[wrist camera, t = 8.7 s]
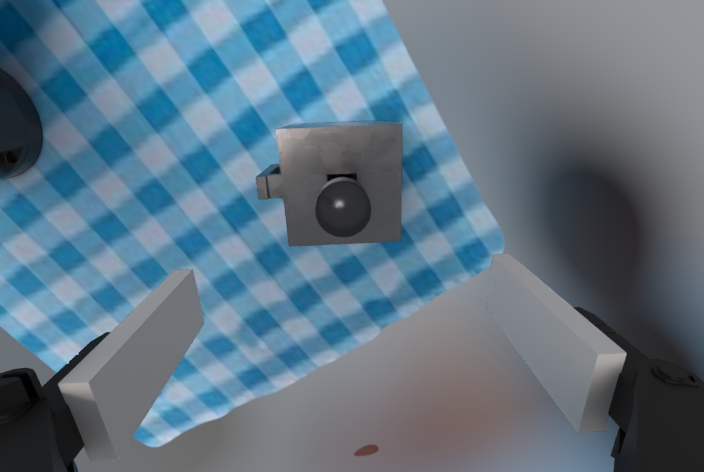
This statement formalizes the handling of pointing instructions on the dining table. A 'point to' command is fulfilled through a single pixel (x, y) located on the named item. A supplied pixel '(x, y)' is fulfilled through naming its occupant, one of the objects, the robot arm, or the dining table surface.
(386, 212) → the steel cube with knob
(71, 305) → the dining table surface
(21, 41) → the dining table surface
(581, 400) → the robot arm
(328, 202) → the plunger
